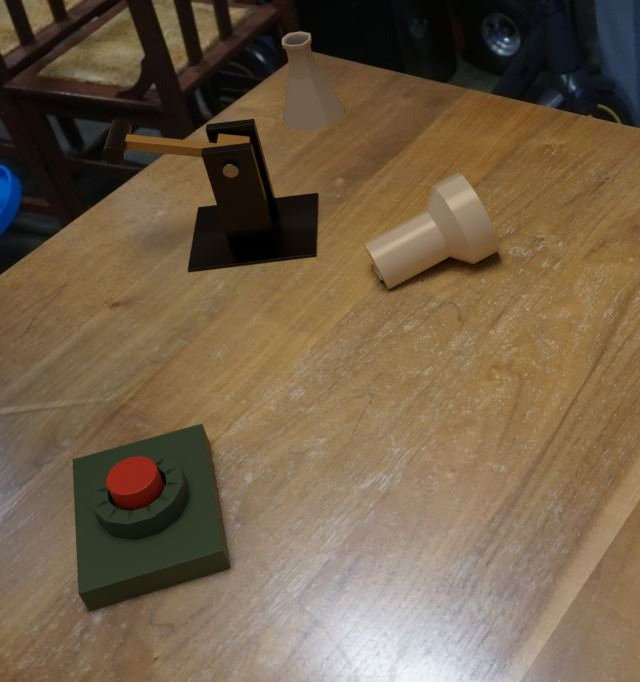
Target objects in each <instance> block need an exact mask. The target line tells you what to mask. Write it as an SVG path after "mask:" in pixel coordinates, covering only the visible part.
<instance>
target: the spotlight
mask: <svg viewBox="0 0 640 682" xmlns="http://www.w3.org/2000/svg"><path fill="white" fill-rule="evenodd" d="M362 244H363V247H364V250H365V253H366V254H367V257H368V258H369V259H370V262H371V264H372V266H373V267H372V269H373V271H374V273H375V274H376V276H377V277H378V279H379V280H380V281H383V283H384V285H385V286H386V288H387V289H388V290H391V289H392V288H395V287H396V286H398V285H400V284H402V283H404V282H405V281H408V280H410V279H412V278H413V277H415V276H417V275H419V274H421V273H423V272H425V271H427V270H428V269H430V268H432V267H434V266H436V265H438V264H440V263H441V262H443V261H445V260H446V259H449V258H452V259H454V260H458V261H460V262H464V263H466V264H471V265H475V264H477V263H478V262H480V261H481V262H482V260H484V259H486V258H488V257H490V256H493V254H495V253H497V252H499V251H500V250H501V245H500V241H499V238H498V234H497V231H496V229H495V227H494V225H493V223H492V220H491V217H490V216H489V213H488V211H487V209H486V207H485V205H484V203H483V202H482V200H481V199H480V197H479V196H478V194H477V193H476V191H475V190H474V188H473V187H472V185H471V183H470V182H469V181H468V180H467V179H466V178H465V176H464V174H461V173H459V172H455V173H454V174H452V175H450V176H448V177H446V178H444V179H442V180H441V181H439V182H436V183H435V184H433V185H432V186H431V188H430V192H429V195H428V198H427V202H426V206H425V209H424V211H422V212H420V213H418V214H416V215H414V216H412V217H411V218H409V219H406V220H405V221H403V222H401V223H399V224H398V225H395V226H393V227H392V228H389V229H388V230H386V231H384V232H383V233H380V234H379V235H376V236H375V237H373V238H372V239H369V240H367V241H366V242H364V243H362Z"/></svg>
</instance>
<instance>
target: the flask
mask: <svg viewBox="0 0 640 682" xmlns="http://www.w3.org/2000/svg"><path fill="white" fill-rule="evenodd" d="M311 44H312V34H311V32H306V31H301V30H300V31H295V32H288V33H287V34H286V35H284V36H283V37H282V38H281V46H282V48H283V50H285V51H286V55H287V60H288V62H287V63H288V74H287V75H288V76H287V83H286V92H285V100H284V106H283V112H282V121H283V127H286V128H290V129H295V130H299V131H304V132H306V131H314V130H320V129H325V128H330V127H331V126H332V125H334V123H335V122H336V121H338V120H339V119H340V118H341V117H342V116H343V115H344V114H345V106H344V104H343V102H342V101H341V99H340V98H339V97H338V95H337V93H336V92H335V91H334V89H333V88H332V86H331V85H330V83H329V82H328V80H327V78H326V76H325V75H324V74H323V72H322V70H321V69H320V67H319V66H318V63H317V62H316V59H315V57H314V55H313V54H314V53H313V51H312V48H311Z"/></svg>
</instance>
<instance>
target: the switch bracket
mask: <svg viewBox="0 0 640 682" xmlns="http://www.w3.org/2000/svg"><path fill="white" fill-rule="evenodd" d="M205 133H206V137H207V141H208V143H217V140H218V134H227V135H237V136H246V137H250V143H242V144H233V145H225V146H216V147H208V148H202V153H201V155H202V157H201V158H202V161H203V165H204V168H205V171H206V174H207V177H208V181H209V184H210V187H211V191H212V193H213V197H214V201H215V203H216V204H213V205H205V206H198V207H197V210H196V212H197V213H196V217H195V222H194V229H193V236H192V241H191V247H190V253H189V259H188V265H187V273H196V272H205V271H211V270H221V269H230V268H238V267H246V266H253V265H261V264H270V263H278V262H286V261H295V260H302V259H310V258H317V257H318V232H319V230H318V228H319V227H318V226H319V197H320V195H319V192H312V193H303V194H295V195H287V196H278V197H276V195H275V192H274V188H273V183H272V180H271V176H270V172H269V169H268V166H267V161H266V158H265V154H264V149H263V146H262V142H261V139H260V135H259V131H258V127H257V124H256V120H255V118H247V119H239V120H230V121H223V122H214V123H207V124H205Z"/></svg>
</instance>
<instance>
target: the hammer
mask: <svg viewBox="0 0 640 682" xmlns="http://www.w3.org/2000/svg"><path fill="white" fill-rule="evenodd" d="M132 130H133V126H132V123H131V122H130V121H129V120H127V118H124V117H116V118H114V119H112V121H111V123H110V126H109V130H108V134H107V137H106V140H105V144H104V147H103V150H102V153H101V154H102V158H103V161H105V162H106V163H107V164H108V165H111V166H112V165H113V166H118V165H121V164H122V163H123V162H124V160H125V157H126V153H127V151H133V152H142V153H144V152H145V153H155V154H163V155H174V156H175V155H176V156H183V157H184V156H185V157H193V158H194V157H195V158H202V155H201V153H202V148H208V147H216V146H225V145H233V144H242V143H250V137H246V136H237V135H227V134H218V140H217V143H209V141H208V142H207V141H206V142H205V141H197V140H189V139H188V140H187V139H179V138H178V139H177V138H169V137H168V138H167V137H159V136H148V135H140V134H139V135H138V134H132Z"/></svg>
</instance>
